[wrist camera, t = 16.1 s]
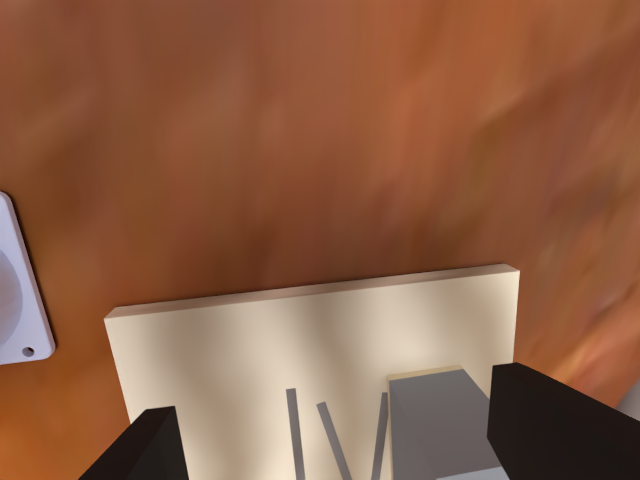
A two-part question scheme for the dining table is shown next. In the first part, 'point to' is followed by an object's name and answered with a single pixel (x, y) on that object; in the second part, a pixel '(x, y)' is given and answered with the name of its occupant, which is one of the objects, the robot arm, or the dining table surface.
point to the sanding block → (439, 427)
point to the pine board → (307, 366)
